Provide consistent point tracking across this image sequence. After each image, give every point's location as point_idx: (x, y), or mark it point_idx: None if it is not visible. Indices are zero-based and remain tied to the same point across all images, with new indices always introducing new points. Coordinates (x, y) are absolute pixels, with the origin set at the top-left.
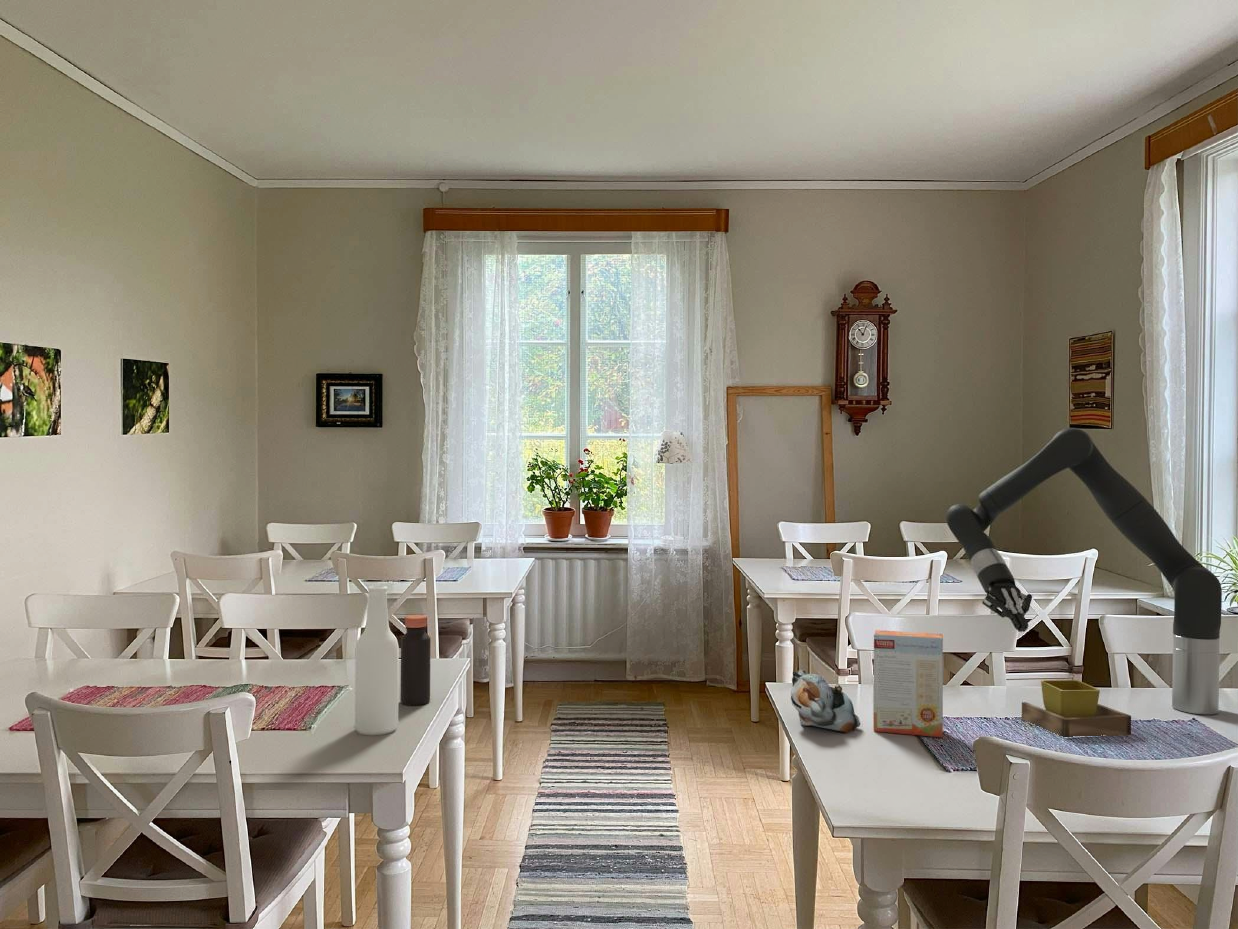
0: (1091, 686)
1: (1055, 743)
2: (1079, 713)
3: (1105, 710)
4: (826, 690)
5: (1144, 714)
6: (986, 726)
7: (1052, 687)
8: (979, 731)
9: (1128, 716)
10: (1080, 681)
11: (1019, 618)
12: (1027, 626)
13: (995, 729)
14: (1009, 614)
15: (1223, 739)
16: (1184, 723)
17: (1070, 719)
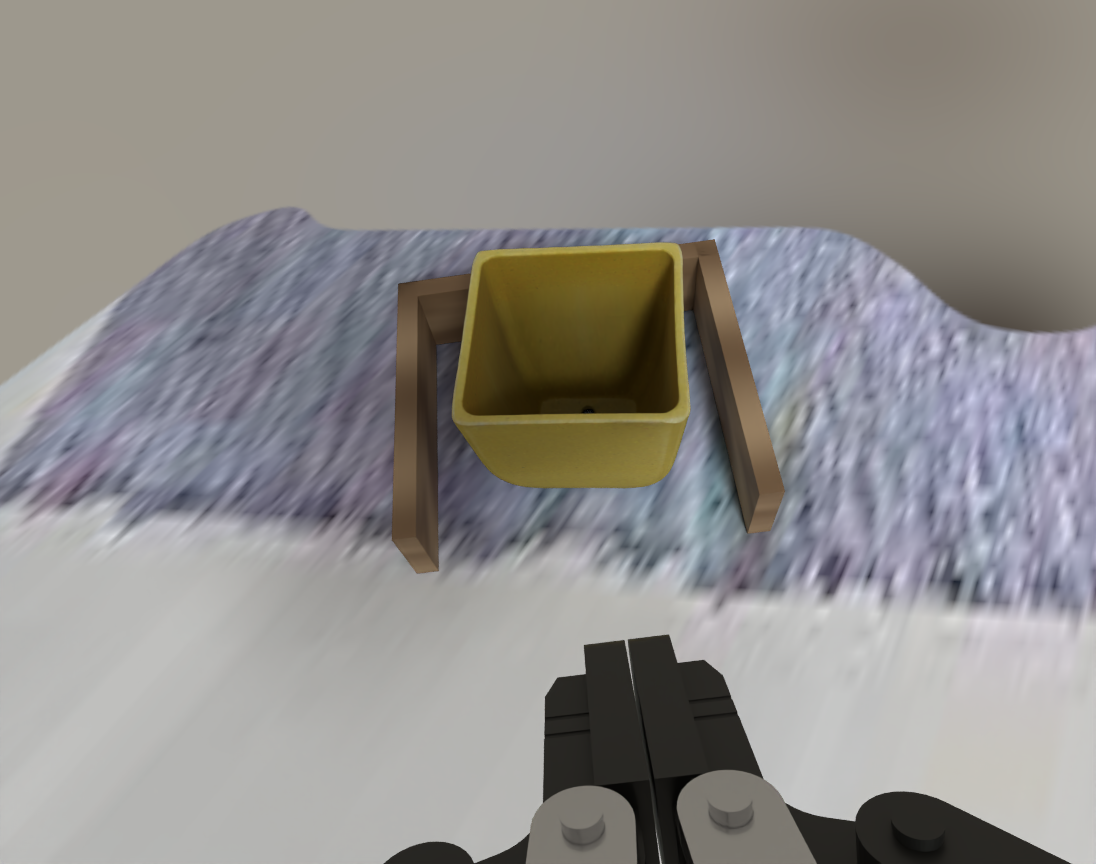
0: (472, 302)
1: (770, 254)
2: (583, 332)
3: (418, 388)
4: None
5: (99, 596)
6: (988, 449)
7: (682, 316)
8: (1043, 384)
9: (411, 282)
10: (455, 393)
11: (674, 710)
12: (591, 644)
13: (956, 407)
14: (826, 832)
15: (145, 289)
16: (75, 458)
17: (688, 243)
